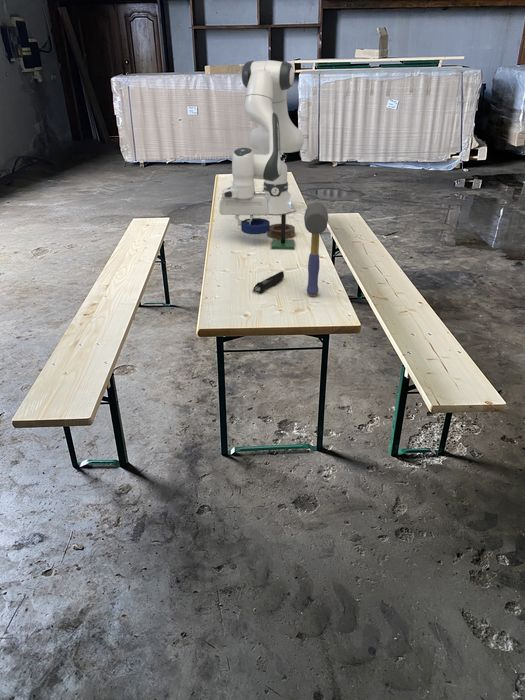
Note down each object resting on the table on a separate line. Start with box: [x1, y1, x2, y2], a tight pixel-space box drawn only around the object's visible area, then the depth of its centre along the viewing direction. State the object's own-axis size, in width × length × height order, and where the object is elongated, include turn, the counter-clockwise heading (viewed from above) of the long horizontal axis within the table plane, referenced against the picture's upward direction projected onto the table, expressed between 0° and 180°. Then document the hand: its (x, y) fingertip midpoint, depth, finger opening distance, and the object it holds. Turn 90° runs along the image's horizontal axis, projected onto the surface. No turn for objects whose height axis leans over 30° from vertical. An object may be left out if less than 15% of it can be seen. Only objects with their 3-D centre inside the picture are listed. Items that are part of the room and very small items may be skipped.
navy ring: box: [240, 217, 271, 235], centre depth 219 cm, size 12×12×3 cm
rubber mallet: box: [303, 201, 329, 297], centre depth 170 cm, size 12×8×30 cm, turn 175°
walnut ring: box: [267, 223, 296, 239], centre depth 231 cm, size 12×12×3 cm
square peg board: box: [271, 213, 295, 250], centre depth 217 cm, size 9×9×13 cm
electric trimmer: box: [252, 271, 285, 294], centre depth 183 cm, size 4×16×3 cm, turn 144°
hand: (244, 225), depth 220 cm, fingers closed on navy ring, 2 cm apart
